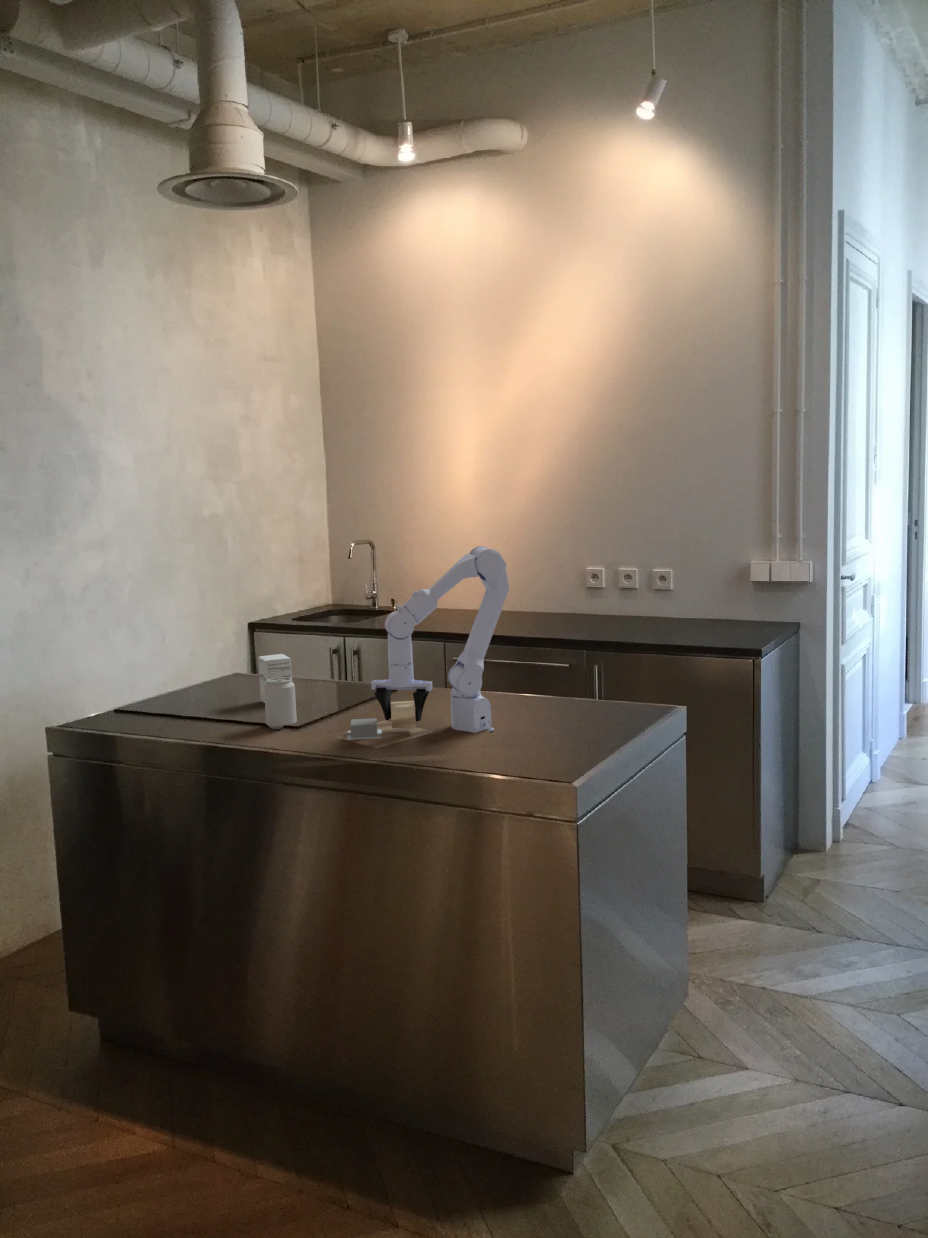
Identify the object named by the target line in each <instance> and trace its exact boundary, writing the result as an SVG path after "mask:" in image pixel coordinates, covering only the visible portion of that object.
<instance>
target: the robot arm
mask: <svg viewBox="0 0 928 1238" xmlns="http://www.w3.org/2000/svg"><path fill="white" fill-rule="evenodd" d="M477 577H479V579H480V580H481V582H482V584H483V586H484V588H485V591H484V594H483V596H482V599H481V603H480V606H479V608H478V610H477V614H476V617H475V619H474V622H473V625H472V627H471V630H470V632H469V635H468V638H467V640H466V641H467V642H466V643H465V646H464V649H463V651H462V652H461V653H460V654H459V656H458V657H457V660H456V663H455V664H454V665H453V666H451V668H450V669H449V671H448V673H447V678H448V679H447V680H448V682H449V684H450V686H452V689H451V691H450V692H449V693H450V697H449V698H450V720H451V721H450V722H451V729H453V730H455V731H460V732H461V731H464V732H469V733H473V734H476V733H479V732H482V731H486V730H488V732H490V733H491V732H492V731H493V732H494V731H495V728H494V727H492V706H491V702H490V700H489V699H488V698H486V697H484V696H483V695H482V692H481V689H482V687H483V672H484V669H485V667H484V665H485V664H484V659H485V658H486V657H485V656H486V654H487V651H488V648H489V646H490V643H491V640H492V637H493V634H494V633H495V629H496V627H497V624H498V621H499V618H500V616H501V613H502V610H503V607H504V606H505V605H504V604H505V602H506V598H507V597H508V594H509V591H510V585H509V579H508V573H507V563H506V561H505V559H504V557H503V556H502V554H501V553H500V552H499V551H498V550H496V549H492V548H488V547H487V546H482V545H480V546H476V547H473V548H472V549H471V550H470V552H468V553H466V554H464V555H463V556H462V557H460V559H458V561H457V562H456V563H454V564H453V566H451V567H450V568H449V569H448V570H447V571H446V572H445V573H444V574H443V575H442V576H441V577H439V579H438V580H437V581H436V582H434V583H433V585H431V586H430V587H429V588H427V589H425V588H421V589H419V590H414V591H413V592H412V593H411V595H412V596H411V597H410V598H409V599H407V601H405V602H404V603H403V604H402V605H398V606H396V609H397V610H395V611H393V612H392V611H391V612H390V613H389V614H388V615H387V616H386V618H385V622H384V623H383V626H384V628H385V630H386V632H387V658H388V660H387V661H388V679H374V680H371V682H370V683H371V684H370V686H371V690H375V692H374V695H375V696H374V697H375V698H376V699H377V701H378V702H379V705H380V707H381V711H382V712H383V715H384V719H385V721H389V720H392V718H391V702H392V701H391V699H392V697H391V696H392V690H393V691H394V690H399V691H401V690H403V691H414V692H413V693H412V696H413V701H414V705H415V722H420V721H421V720H422V716H423V710H424V706H425V703H426V701H427V698H428V695H429V694H430V692H431V691H433V689H434V688H433V681H432V680H431V681H429V680H419V679H415V676H414V660H413V659H414V658H413V656H414V655H413V643H412V634H413V633H414V629H415V626H417V625H419V624H420V623H421V622H422V621H423V620H425V619H426V618H427V617H428V616H430V614H431V613H432V612H434V611H435V610H436V609H437V608H438V602H439V599H441V598H442V597H443V596H444V595H445V594H447V593H448V592H449V591H451V590H452V589H454V588H455V586H457V585H458V584H459V583H461V582H462V581H463V580H464V579H469V578H477Z"/></svg>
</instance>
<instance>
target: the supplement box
mask: <svg viewBox="0 0 928 1238" xmlns="http://www.w3.org/2000/svg"><path fill="white" fill-rule="evenodd" d="M257 658H258V661H257V662H258V677H259V690H260V702H262V703H264V704H265V694H264V686H265V685H266V684H267V682H266V680H268V679H270V678H276V677H289V678H291V679H292V680H291V681H292V682H293V675H292V661H291V657H289V656H288V655H285V654H284V653H277V654H268V655H262V656H261V655H260V656H258V657H257Z"/></svg>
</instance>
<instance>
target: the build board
mask: <svg viewBox="0 0 928 1238" xmlns="http://www.w3.org/2000/svg"><path fill="white" fill-rule="evenodd" d="M432 733H435V731H433V730H429V729H424V728H420V727H417V726H416V727H409V728H392V721H389V720H380V721H377V737H366V738H351V728H350V729H346V730H341V731H339V732H335V733H331V734H328V735H327V736H329V737H331V738H336V739H340V740H343V741H348V742H352V743H356V744H359V745H363V746H368V747H371V748H375V749H379V748H383V747H386V746H390V745H392V744H393V745H394V744H396V743H399V742H404V741H408V740H410V739H414V738H418V737H422V736H425V735H430V734H432Z"/></svg>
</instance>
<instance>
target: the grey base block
mask: <svg viewBox="0 0 928 1238" xmlns="http://www.w3.org/2000/svg"><path fill="white" fill-rule="evenodd" d="M377 722H378V719H377V717H376V718H374V717H373V718H356V719H355V718H354V719H353V718H351V720H350V729H351V738H366V737H377Z"/></svg>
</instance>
